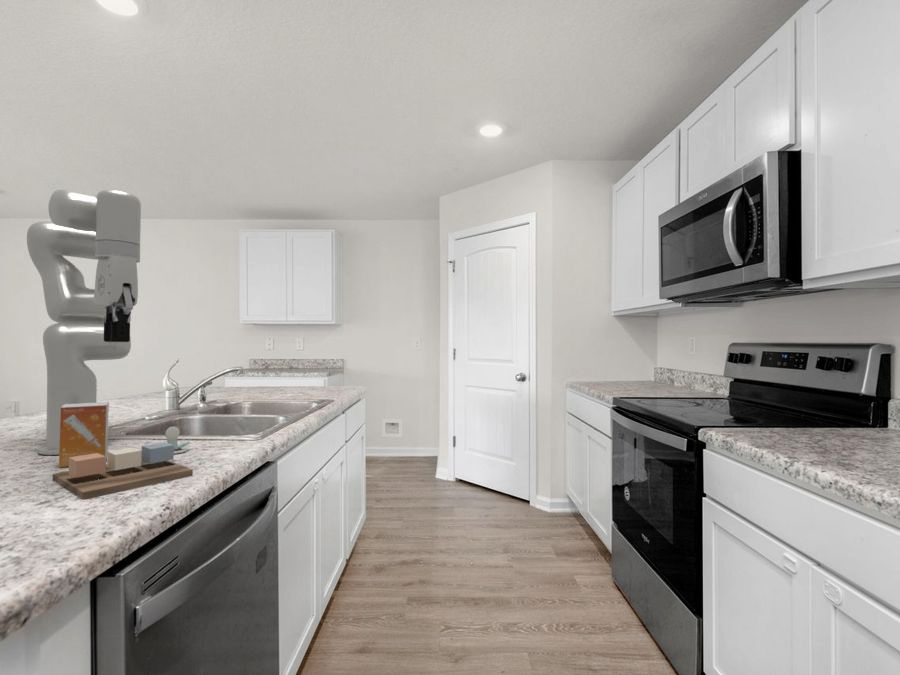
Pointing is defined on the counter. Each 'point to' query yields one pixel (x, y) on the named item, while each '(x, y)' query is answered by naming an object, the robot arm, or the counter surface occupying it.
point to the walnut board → (121, 478)
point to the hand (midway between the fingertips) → (116, 340)
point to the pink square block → (86, 465)
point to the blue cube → (157, 452)
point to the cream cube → (123, 458)
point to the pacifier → (175, 439)
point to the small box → (83, 430)
